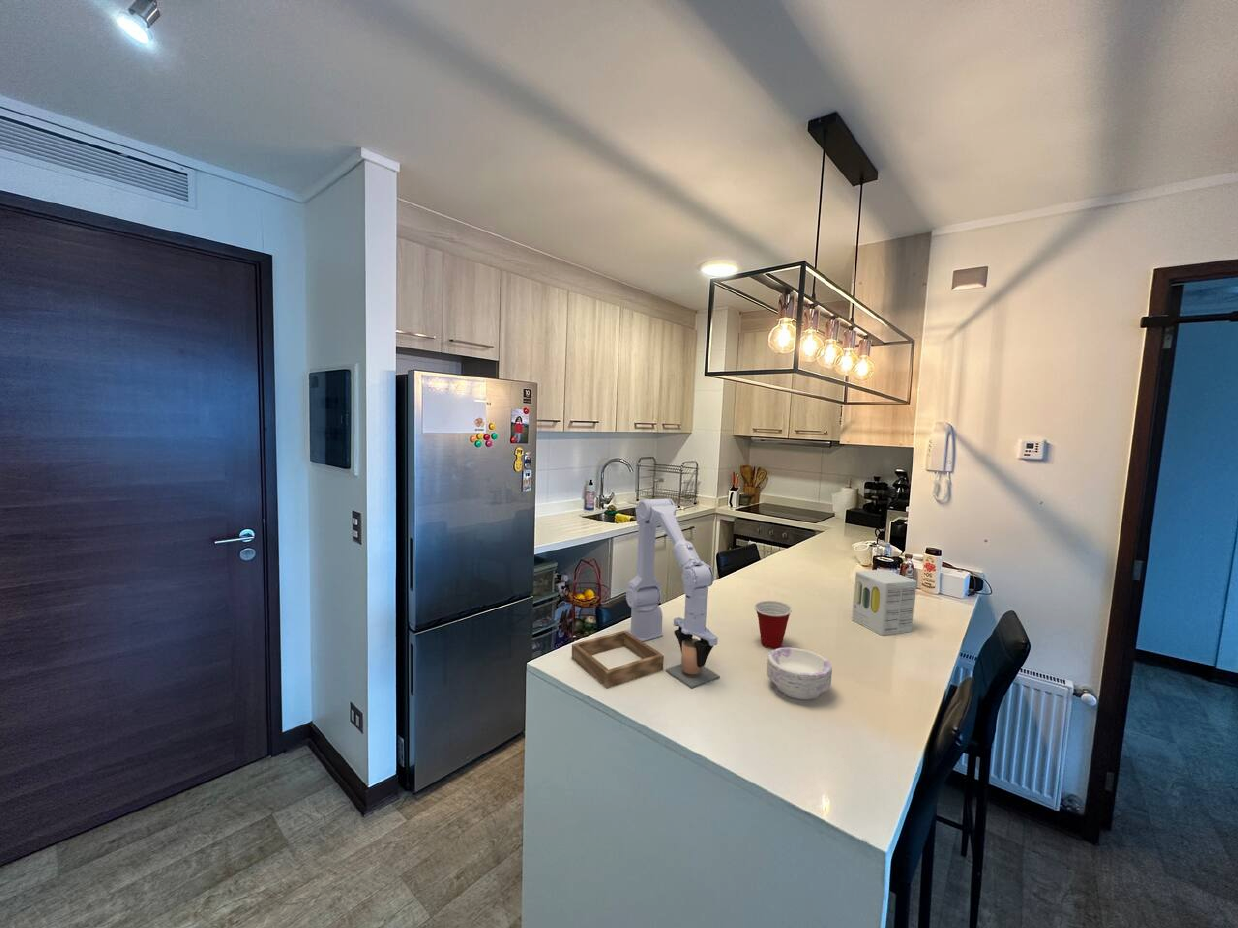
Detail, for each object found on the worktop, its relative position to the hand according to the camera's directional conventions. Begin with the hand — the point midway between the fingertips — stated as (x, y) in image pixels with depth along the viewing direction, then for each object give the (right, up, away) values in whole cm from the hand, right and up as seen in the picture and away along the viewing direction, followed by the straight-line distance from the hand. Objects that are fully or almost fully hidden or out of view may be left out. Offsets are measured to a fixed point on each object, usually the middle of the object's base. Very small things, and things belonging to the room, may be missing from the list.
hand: (693, 661), depth 128 cm
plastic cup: (+27, -3, +20) cm, 33 cm away
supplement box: (+69, -3, +37) cm, 79 cm away
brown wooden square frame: (-20, -3, +5) cm, 21 cm away
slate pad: (0, -4, 0) cm, 4 cm away
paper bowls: (+25, -5, -5) cm, 26 cm away
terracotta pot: (0, -2, 0) cm, 2 cm away
